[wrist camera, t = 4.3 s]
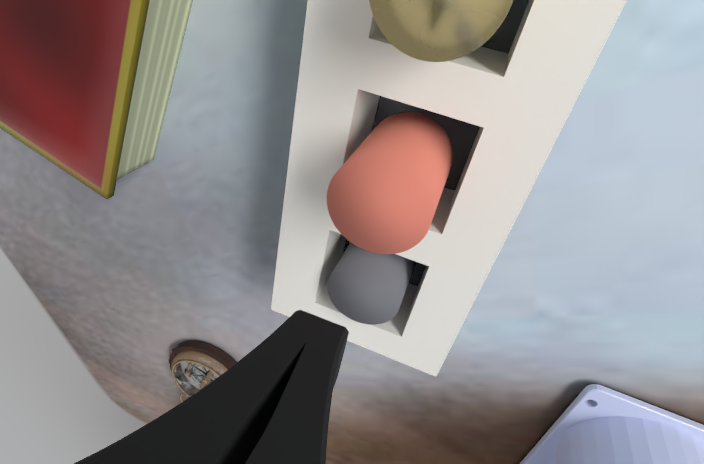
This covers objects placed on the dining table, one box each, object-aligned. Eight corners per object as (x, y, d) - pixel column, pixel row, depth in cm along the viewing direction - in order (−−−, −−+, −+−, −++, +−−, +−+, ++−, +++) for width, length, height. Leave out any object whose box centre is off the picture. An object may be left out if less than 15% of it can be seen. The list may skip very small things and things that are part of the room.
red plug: (437, 204, 16) (414, 268, 13) (360, 178, 16) (319, 233, 13) (465, 127, 14) (447, 178, 11) (378, 100, 14) (336, 141, 11)
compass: (188, 322, 29) (104, 414, 23) (285, 390, 30) (226, 496, 24) (160, 374, 34) (85, 460, 28) (243, 431, 34) (186, 528, 29)
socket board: (447, 322, 22) (436, 376, 19) (301, 266, 23) (270, 309, 20) (668, -144, 11) (716, -177, 8) (379, -201, 13) (336, -245, 10)
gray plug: (410, 276, 21) (389, 334, 18) (352, 254, 21) (322, 307, 18) (428, 226, 19) (409, 281, 16) (365, 204, 20) (333, 252, 16)
